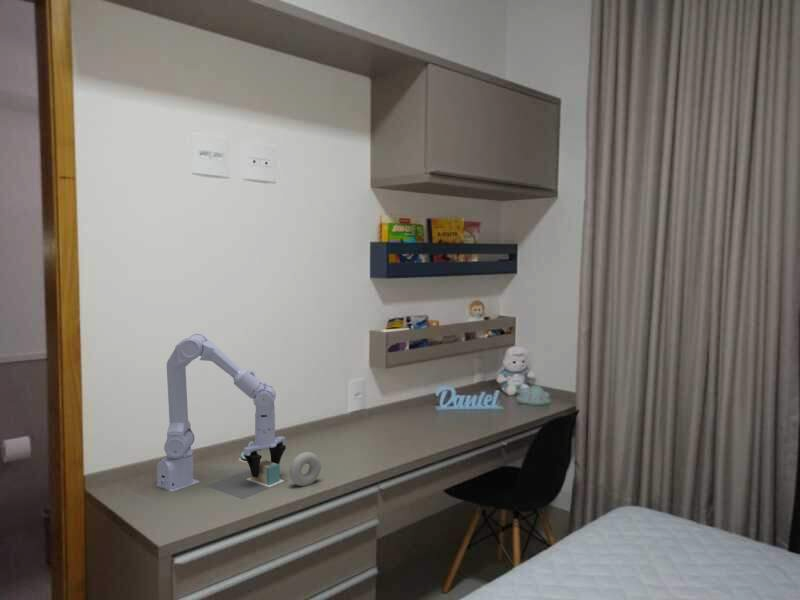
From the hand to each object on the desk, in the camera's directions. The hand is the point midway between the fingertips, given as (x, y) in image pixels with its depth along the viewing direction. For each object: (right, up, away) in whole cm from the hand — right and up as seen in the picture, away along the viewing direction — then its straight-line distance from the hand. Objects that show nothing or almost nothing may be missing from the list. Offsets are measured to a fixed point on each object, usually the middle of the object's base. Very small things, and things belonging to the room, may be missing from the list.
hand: (265, 472), depth 175 cm
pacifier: (-10, -2, +19) cm, 21 cm away
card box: (0, -2, 0) cm, 2 cm away
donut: (+12, -3, -2) cm, 13 cm away
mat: (-5, -3, -2) cm, 6 cm away
